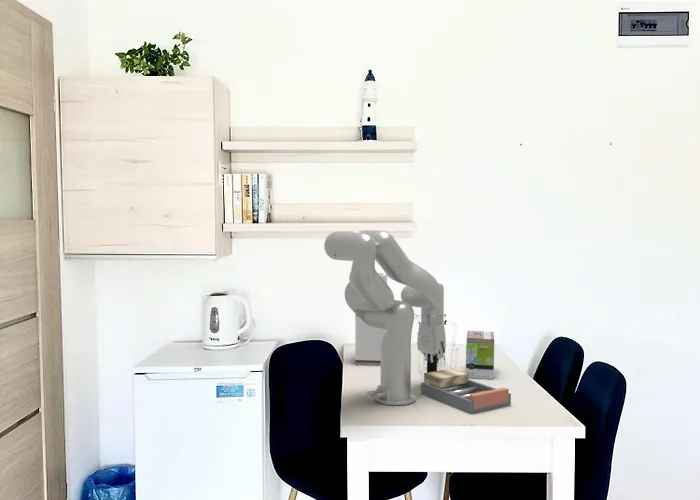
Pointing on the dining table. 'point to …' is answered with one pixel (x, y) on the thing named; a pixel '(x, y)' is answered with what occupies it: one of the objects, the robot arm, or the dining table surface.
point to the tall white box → (368, 340)
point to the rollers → (462, 390)
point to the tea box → (480, 354)
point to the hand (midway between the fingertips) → (431, 373)
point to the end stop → (490, 397)
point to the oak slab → (446, 378)
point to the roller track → (458, 400)
